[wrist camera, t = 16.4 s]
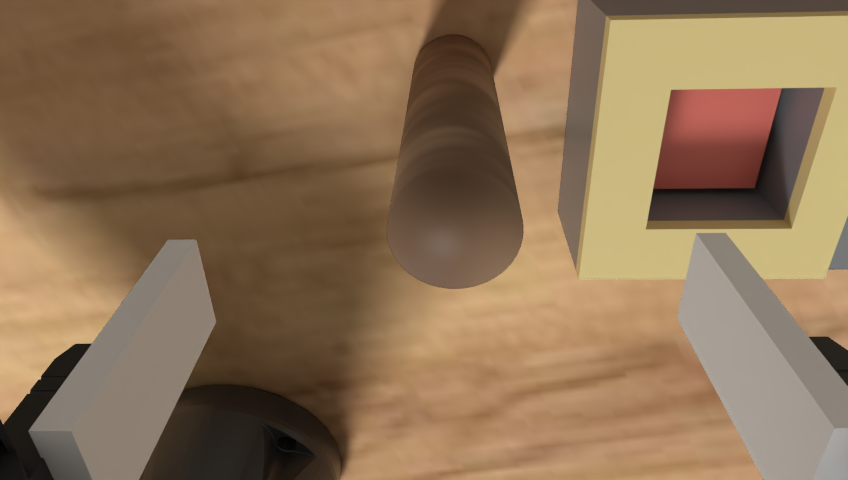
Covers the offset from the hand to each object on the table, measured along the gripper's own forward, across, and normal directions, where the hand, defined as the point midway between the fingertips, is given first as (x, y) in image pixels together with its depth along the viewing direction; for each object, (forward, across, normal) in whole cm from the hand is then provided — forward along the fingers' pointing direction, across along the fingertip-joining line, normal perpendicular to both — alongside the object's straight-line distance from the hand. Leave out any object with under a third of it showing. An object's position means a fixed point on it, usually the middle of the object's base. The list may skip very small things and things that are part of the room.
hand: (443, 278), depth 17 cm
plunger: (+16, +13, -2) cm, 21 cm away
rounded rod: (+18, +1, 0) cm, 18 cm away
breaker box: (+18, +16, -2) cm, 24 cm away
